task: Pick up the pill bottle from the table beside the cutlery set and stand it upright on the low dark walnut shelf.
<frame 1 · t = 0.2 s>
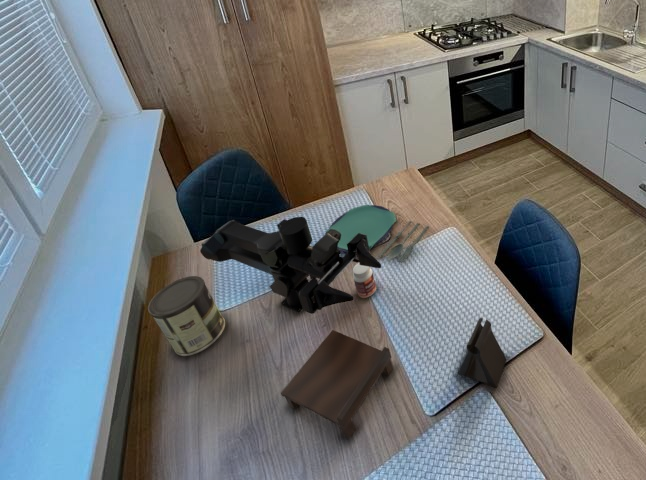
hand: (367, 281, 89), 16 cm above the table, tool horizontal, fingers open, 9 cm apart
coffee can: (200, 335, 97), on the table
cutlery set: (375, 236, 124), on the table
pill bottle: (367, 290, 106), on the table
phone stand: (482, 367, 88), on the table
shelf: (343, 387, 85), on the table
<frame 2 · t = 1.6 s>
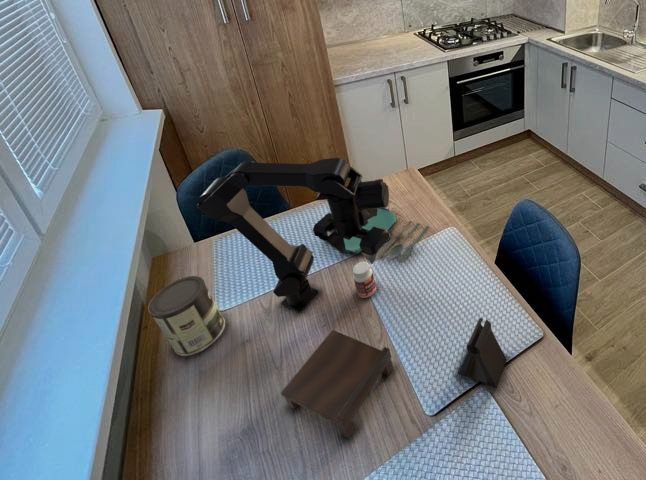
hand: (358, 257, 101), 12 cm above the table, tool pointing down, fingers open, 9 cm apart
nothing on the table moved.
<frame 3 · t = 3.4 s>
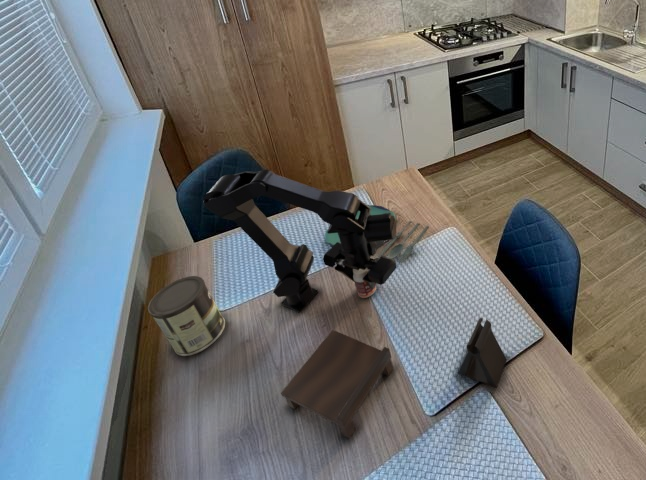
hand: (365, 285, 105), 2 cm above the table, tool pointing down, fingers closed on pill bottle, 5 cm apart
pill bottle: (367, 290, 106), on the table, touching gripper
everything else where it was.
when the fingers open (7 cm above the table, at t = 8.0 s): pill bottle stays where it is, resting on shelf.
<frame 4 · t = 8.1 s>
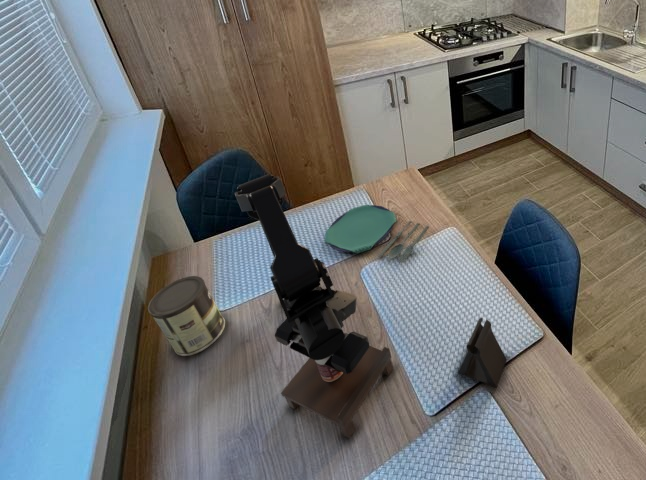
hand: (331, 364, 83), 7 cm above the table, tool pointing down, fingers open, 5 cm apart
pill bottle: (334, 370, 84), point 5 cm above the table, touching shelf
everything else where it was.
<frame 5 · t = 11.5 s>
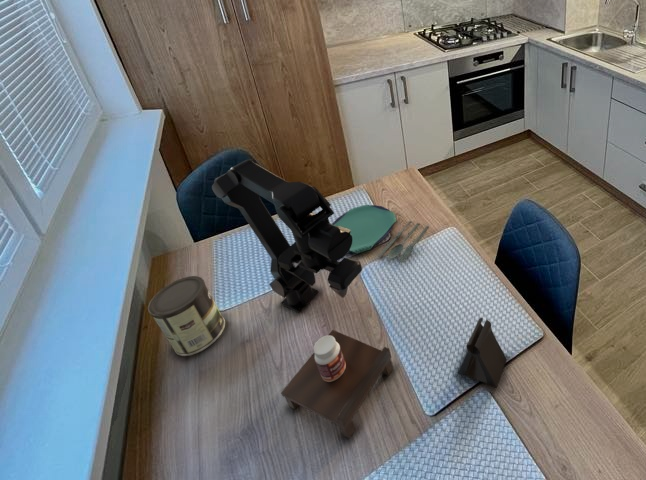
hand: (328, 290, 93), 12 cm above the table, tool pointing down, fingers open, 9 cm apart
nothing on the table moved.
at the end: pill bottle inside the target area on the shelf (1.1 cm from its centre), point 4.8 cm above the shelf's base; pill bottle tilted 0° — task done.
